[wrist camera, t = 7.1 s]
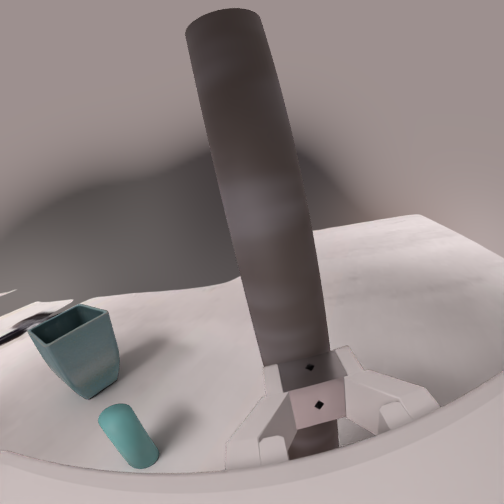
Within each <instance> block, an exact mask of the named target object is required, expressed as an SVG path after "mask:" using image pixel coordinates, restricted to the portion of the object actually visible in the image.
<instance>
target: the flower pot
mask: <svg viewBox="0 0 504 504" xmlns="http://www.w3.org/2000/svg"><path fill="white" fill-rule="evenodd" d="M28 334H29V335H30V337H31V339H32V341H33V342H34V344H35V346H36V347H37V349H38V351H39V352H40V354H41V356H42V357H43V359H44V360H45V362H46V363H47V364H48V366H49V367H50V368H51V369H52V371H53V372H54V373H55V374H56V375H57V376H58V377H59V378H61V379H62V380H63V381H64V382H65V383H66V384H67V385H68V386H69V387H70V388H72V389H73V390H74V391H75V392H76V393H77V394H79V395H80V396H82V397H83V398H85V399H90V398H91V397H93V396H94V395H96V394H97V393H98V392H100V391H101V390H103V389H104V388H106V387H107V386H108V385H110V384H111V383H113V382H114V381H116V379H117V376H118V371H119V350H118V346H117V342H116V338H115V335H114V331H113V328H112V324H111V320H110V317H109V313H108V311H107V310H103V309H99V308H95V307H91V306H88V305H84V304H78V305H76V306H74V307H72V308H70V309H68V310H66V311H64V312H63V313H61V314H59V315H57V316H55V317H53V318H51V319H49V320H47V321H45V322H43V323H41V324H39V325H37V326H35V327H33V328H32V329H30V330H28Z"/></svg>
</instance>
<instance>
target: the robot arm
mask: <svg viewBox="0 0 504 504" xmlns="http://www.w3.org/2000/svg"><path fill="white" fill-rule="evenodd" d="M278 368H279V369H278ZM262 370H263V377H264V385H265V392H266V397H262V398H261V399H260V401H259V402H258V403H257V405H256V406H255V407H254V408H253V410H252V411H251V412H250V414H249V415H248V416H247V417H246V419H245V420H244V421H243V422H242V424H241V425H240V426H239V427H238V429H237V430H236V431H235V432H234V434H233V435H232V436H231V437H230V439H229V440H228V441H227V442H226V458H225V470H223V471H212V472H197V473H131V472H117V471H106V470H97V469H89V468H82V467H75V466H69V465H64V464H58V463H53V462H49V461H44V460H40V459H36V458H32V457H28V456H24V455H21V454H17V453H14V452H11V451H1V452H0V504H504V370H503V371H502V372H500V373H499V374H497V375H496V376H494V377H493V378H491V379H490V380H488V381H487V382H485V383H483V384H482V385H480V386H478V387H477V388H475V389H474V390H472V391H470V392H468V393H467V394H465V395H463V396H461V397H460V398H458V399H456V400H454V401H452V402H450V403H449V404H447V405H445V406H443V407H441V406H440V405H439V404H438V403H437V401H436V400H435V399H434V398H433V396H432V395H431V394H430V393H429V391H428V390H427V389H426V388H425V387H422V386H419V385H416V384H412V383H409V382H406V381H403V380H400V379H396V378H393V377H390V376H387V375H384V374H381V373H378V372H375V371H372V370H369V369H367V370H364V369H363V367H362V366H361V364H360V363H359V361H358V360H357V358H356V357H355V355H354V354H353V352H352V350H351V349H350V347H349V346H344V347H341V348H337V349H334V350H332V351H329V352H325V353H322V354H318V355H315V356H311V357H307V358H302V359H297V360H293V361H288V362H284V363H279V364H278V365H277V364H274V365H270V366H265V367H263V369H262ZM279 373H280V374H279ZM280 377H281V378H280ZM343 417H346V418H348V419H350V420H351V421H353V422H354V423H356V424H358V425H359V426H361V427H363V428H364V429H366V430H368V431H369V432H371V433H373V434H374V435H376V436H373V437H370V438H368V439H365V440H362V441H359V442H356V443H353V444H350V445H346V446H343V447H340V448H336V449H333V450H329V451H326V452H322V453H318V454H314V455H310V456H306V457H302V458H298V459H293V460H290V459H289V455H288V449H289V447H290V445H291V443H292V441H293V439H294V437H295V435H296V433H297V430H298V429H302V428H306V427H309V426H313V425H316V424H320V423H324V422H328V421H332V420H335V419H339V418H343Z"/></svg>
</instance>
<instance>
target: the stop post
mask: <svg viewBox="0 0 504 504" xmlns="http://www.w3.org/2000/svg"><path fill="white" fill-rule="evenodd" d="M98 423H99V425H100V426H101V428H102V429H103V431H104V432H105V433H106V435H107V436H108V438H109V439H110V440H111V442H112V443H113V444H114V446H115V447H116V448H117V450H118V451H119V452H120V454H121V455H122V456H123V457H124V459H125V460H126V461H127V462H128V464H129V465H130V466H132V467H133V468H137V469H143V468H147V467H149V466H151V465H152V464H154V463H155V462H156V460H157V459H158V456H159V451H158V449H157V447H156V446H155V444H154V443H153V441H152V440H151V438H150V437H149V435H148V434H147V432H146V431H145V429H144V428H143V426H142V424H141V423H140V421H139V420H138V418H137V416H136V415H135V413H134V411H133V410H132V408H131V407H130V406H129V405H127V404H115V405H112V406H110V407H108V408H106V409H105V410H104V411H103V412H102V413H101V414H100V416H99V418H98Z"/></svg>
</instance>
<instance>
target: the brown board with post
mask: <svg viewBox="0 0 504 504" xmlns="http://www.w3.org/2000/svg"><path fill="white" fill-rule="evenodd" d="M185 36H186V41H187V45H188V50H189V55H190V59H191V64H192V69H193V74H194V78H195V83H196V87H197V92H198V96H199V101H200V105H201V110H202V114H203V119H204V123H205V128H206V132H207V136H208V141H209V145H210V150H211V154H212V158H213V163H214V167H215V171H216V176H217V180H218V184H219V188H220V193H221V197H222V201H223V205H224V209H225V213H226V218H227V222H228V226H229V230H230V234H231V238H232V243H233V247H234V251H235V255H236V259H237V263H238V267H239V271H240V275H241V279H242V283H243V287H244V291H245V295H246V299H247V303H248V307H249V311H250V315H251V319H252V323H253V327H254V331H255V335H256V338H257V342H258V346H259V350H260V354H261V358H262V361H263V365H264V367H265V366H270V365H274V364H277V365H278V364H279V363H284V362H288V361H293V360H297V359H302V358H307V357H311V356H315V355H318V354H322V353H325V352H329V351H330V344H329V336H328V328H327V321H326V313H325V306H324V299H323V292H322V286H321V279H320V273H319V267H318V261H317V255H316V249H315V243H314V237H313V232H312V226H311V221H310V216H309V211H308V205H307V200H306V195H305V191H304V186H303V181H302V176H301V171H300V167H299V162H298V158H297V153H296V149H295V144H294V140H293V136H292V131H291V127H290V123H289V119H288V115H287V111H286V107H285V103H284V99H283V96H282V92H281V88H280V84H279V80H278V77H277V73H276V70H275V66H274V62H273V59H272V55H271V52H270V49H269V45H268V42H267V38H266V35H265V32H264V29H263V25H262V23H261V19H260V17H259V15H257V14H256V13H255V12H253V11H250V10H246V9H240V8H230V9H222V10H217V11H214V12H211V13H208V14H205V15H203V16H201V17H199V18H198V19H196V20H195V21H193V22H192V23H191V24H190V25H189V26H188V28H187V29H186V32H185ZM278 369H279V368H278ZM279 374H280V373H279ZM280 378H281V377H280ZM336 448H339V443H338V427H337V419H335V420H332V421H328V422H324V423H320V424H316V425H313V426H309V427H306V428H302V429H298V430H297V433H296V435H295V437H294V439H293V441H292V443H291V445H290V447H289V449H288V455H289V459H290V460H293V459H298V458H302V457H306V456H310V455H314V454H318V453H322V452H326V451H329V450H333V449H336Z"/></svg>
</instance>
